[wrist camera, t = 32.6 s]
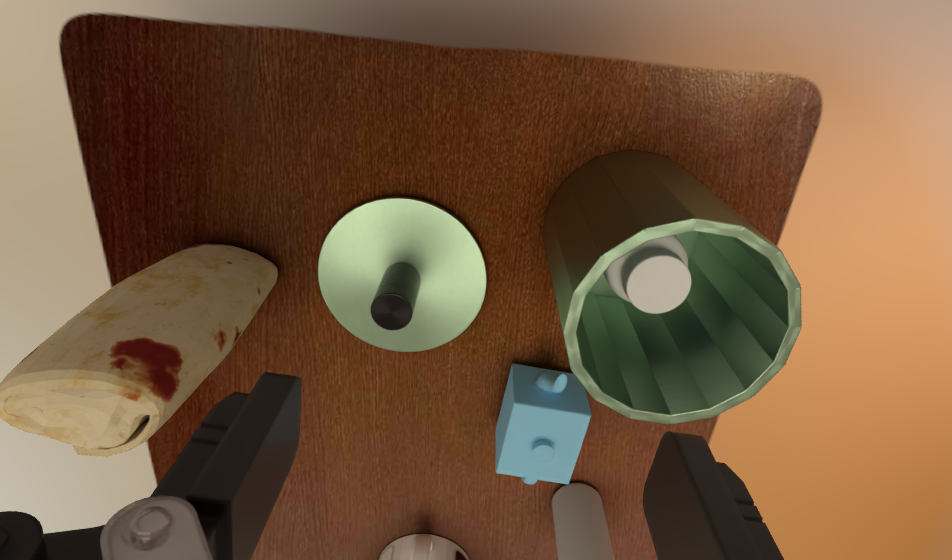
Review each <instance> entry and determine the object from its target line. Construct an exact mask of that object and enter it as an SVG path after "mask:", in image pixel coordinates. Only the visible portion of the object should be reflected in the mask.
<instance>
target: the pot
mask: <svg viewBox="0 0 952 560" xmlns="http://www.w3.org/2000/svg"><path fill="white" fill-rule="evenodd" d="M672 235H676V236H677V238H678V239H679V240H680V241H681V243H682V244H683V246H684V248H685V250H686V252H687V256H688V269H689V272H690V275H691V288H690V291H689V293H688V295H687V297H686V298H685V300H684V301H683V302H682V303H681V304H680V305H679V306H677V307H676V308H674V309H672V310H670V311H668V312H664V313H659V314H652V313H647V312H644V311H641V310H639V309H638V308H636V307H635V306H634V305H633V304H632V303H631V302H628V301H626V300H624V299H622V298H621V297H619V296H618V295H617V294H616V293H615V292H614V291H613V290H612V288H611V287H610V285H609V283H608V281H607V279H606V277H605V275H604V272H605V271H606V269H607V268H608V267H609V265H610V264H611V263H612V262H614V261H616V260H617V259H619V258H621V257H622V256H624V255H625V254H627V253H629V252H630V251H632V250H634V249H635V248H637V247H638V246H640V245H642V244H643V243H645V242H647V241H648V240H653V239H658V238H663V237H668V236H672ZM543 241H544V246H545V250H546V255H547V260H548V265H549V270H550V274H551V279H552V284H553V288H554V293H555V298H556V303H557V307H558V312H559V317H560V322H561V326H562V331H563V336H564V340H565V345H566V350H567V355H568V359H569V364H570V369H571V371H572V372H573V373H574V375H575V376H576V377H577V378H578V380H579V381H580V382H581V384H582V385H583V386H584V387H585V389H586V390H587V391H588V393H589V394H590V395H591V396H592V398H593V399H595V400H596V401H598V402H600V403H601V404H603V405H605V406H607V407H609V408H611V409H612V410H614V411H616V412H618V413H620V414H622V415H623V416H625V417H627V418H630V419H636V420H643V421H650V422H657V423H664V424H676V423H681V422H687V421H693V420H699V419H705V418H711V417H713V416H716V415H718V414H720V413H722V412H724V411H726V410H728V409H730V408H732V407H734V406H736V405H738V404H740V403H742V402H744V401H746V400H748V399H750V398H752V396H755V395H756V393H758V392H759V391H760V390H761V389H762V388H763V387H764V386H765V385H766V384H767V383H768V381H770V380H771V379H772V378H773V377H774V375H776V374H777V373H778V372H779V370H781V369H782V368H783V366H784V365H785V364H786V361H787V359H788V357H789V355H790V352H791V350H792V348H793V346H794V343H795V341H796V339H797V337H798V335H799V332H800V330H801V287H800V283H799V282H798V280H797V278H796V276H795V275H794V273H793V271H792V269H791V268H790V266H789V264H788V262H787V260H786V259H785V257H784V255H783V253H782V251H781V250H780V249H779V248H778V247H777V246H775V245H774V244H773V243H772V242H771V241H769V240H768V239H767V238H766V237H765V236H764V235H762V234H761V233H760V232H759V231H758V230H757V229H755V228H754V227H753V226H752V225H751V224H750V223H748V222H747V221H746V220H745V219H744V218H742V217H741V216H740V215H739V214H738V213H737V212H735V211H734V210H733V209H732V208H731V207H730V206H728V205H727V204H726V203H725V202H724V201H723V200H721V199H720V198H719V197H718V196H717V195H715V194H714V193H713V192H712V191H711V190H710V189H708V188H707V187H706V186H705V185H704V184H703V183H701V182H700V181H699V180H698V179H697V178H696V177H694V176H693V175H692V174H691V173H689V172H688V171H686V170H685V169H683V168H682V167H680V166H679V165H678V164H676V163H675V162H673V161H671V160H670V159H668V158H667V157H664V156H662V155H658V154H654V153H650V152H645V151H621V152H614V153H610V154H607V155H604V156H601V157H598V158H596V159H594V160H591V161H590V162H588V163H586V164H585V165H583V166H581V167H580V168H579V169H577V170H576V171H575V172H573V173H572V174H571V175H570V176H569V177H568V178H567V179H566V180H565V181H564V182H563V184H562V185H561V186H560V187H559V189H558V190H557V192H556V193H555V195H554V197H553V198H552V200H551V203H550V204H549V207H548V210H547V214H546V217H545V223H544V230H543Z"/></svg>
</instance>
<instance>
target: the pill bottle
mask: <svg viewBox="0 0 952 560" xmlns="http://www.w3.org/2000/svg"><path fill="white" fill-rule="evenodd" d="M604 275H605V277H606V279H607V281H608V283H609V285H610V287H611V288H612V290H613V291H614V292H615V293H616V294H617V295H618V296H619V297H621V298H622V299H624V300H626V301H628V302H631V303H632V304H633V305H634V306H635V307H636V308H638V309H639V310H641V311H644V312H647V313H652V314H659V313H664V312H668V311H670V310H672V309H674V308H676V307H677V306H679V305H680V304H681V303H682V302H683V301H684V300H685V298H686V297H687V295H688V293H689V291H690V288H691V275H690V272H689V269H688V256H687V252H686V250H685V248H684V246H683V244H682V243H681V241H680V240H679V239H678V238H677V236H676V235H672V236H668V237H663V238H658V239H653V240H648V241H647V242H645V243H643V244H642V245H640V246H638V247H637V248H635V249H634V250H632V251H630V252H629V253H627V254H625V255H624V256H622V257H621V258H619V259H617V260H616V261H614V262H612V263H611V264H610V265H609V267H608V268H607V269H606V271H605V272H604Z"/></svg>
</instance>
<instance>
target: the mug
mask: <svg viewBox="0 0 952 560" xmlns="http://www.w3.org/2000/svg"><path fill="white" fill-rule="evenodd" d="M379 560H469V558H468V556H467V554H466V553H465V552H464V550H463V549H461V548H460V547H459V546H458V545H457V544H455V543H454V542H452V541H450V540H448V539H446V538H443V537H440V536H436V535H430V534H414V535H408V536H404V537H401V538H399V539H397V540H395V541H393V542H392V543H390V544H389V545H388V546H387V547H386V548H385V549H384V550H383V552H382V553H381V555H380V557H379Z"/></svg>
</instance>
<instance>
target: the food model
mask: <svg viewBox="0 0 952 560" xmlns="http://www.w3.org/2000/svg"><path fill="white" fill-rule="evenodd" d="M277 276H278V272H277V267H276V266H275V265H274V264H273V263H272V262H270V261H268V260H267V259H265V258H263V257H261V256H260V255H258V254H256V253H253V252H250V251H247V250H244V249H241V248H238V247H234V246H231V245H224V244H214V243H203V244H194V245H192V246H190V247H187V248H185V249H184V250H182V251H179V252H177V253H175V254H173V255H171V256H169V257H167V258H165V259H163V260H161V261H159V262H157V263H155V264H153V265H151V266H150V267H148V268H146V269H144V270H142V271H140V272H138V273H136V274H134V275H132V276H130V277H128V278H127V279H125V280H123V281H122V282H120V283H118V284H117V285H115V286H114V287H112V288H111V289H110V290H108V291H107V292H106V293H105V294H103V295H102V296H100V297H99V298H98V299H96V300H95V301H94V302H92V303H91V304H90V305H89V306H87V307H86V308H85V309H83V310H82V311H81V312H80V313H78V314H77V315H76V316H74V317H73V318H72V319H71V320H69V321H68V322H67V323H66V324H65V325H63V326H62V327H61V328H60V329H59V330H57V331H56V332H55V333H54V334H53V335H51V336H50V337H49V338H48V339H47V340H46V341H44V342H43V343H42V344H41V345H40V346H38V347H37V348H36V349H35V350H34V351H33V352H31V353H30V354H29V355H28V356H27V357H26V358H24V359H23V360H22V361H21V362H20V363H19V364H18V365H17V366H16V367H15V368H14V369H13V370H12V371H11V372H10V373H9V374H8V375H7V376H6V377H5V378H4V380H3V381H2V382H1V384H0V417H1V418H2V419H3V420H4V421H6V422H7V423H8V424H10V425H11V426H14V427H16V428H18V429H21V430H23V431H26V432H30V433H34V434H38V435H43V436H47V437H50V438H53V439H56V440H59V441H62V442H65V443H68V444H72V445H73V447H74V449H75V450H76V452H77V454H78V455H89V456H101V457H108V456H111V455H115V454H118V453H122V452H125V451H128V450H130V449H132V448H134V447H136V446H138V445H140V444H141V443H144V442H145V441H147V440H148V439H149V438H150V437H151V436H152V435H153V434H154V433H155V432H156V431H157V430H158V429H159V428H160V427H161V426H162V425H163V424H164V423H165V422H166V421H167V420H168V419H169V418H170V417H171V416H172V415H173V414H174V413H175V411H176V410H177V409H178V408H179V407H180V406H181V405H182V404H183V403H184V401H185V400H186V399H187V398H188V397H189V396H190V395H191V394H192V392H193V391H194V390H195V389H196V388H197V387H198V386H199V385H200V384H201V382H202V381H203V380H204V379H205V378H206V377H207V376H208V375H209V374H210V373H211V372H212V371H213V370H214V369H215V368H216V367H217V366H218V365H219V364H220V363H221V361H222V360H223V359H224V358H225V357H226V356H227V354H228V353H229V352H230V351H231V349H232V347H233V346H234V344H235V343H236V341H237V340H238V338H239V337H240V335H241V334H242V333H243V331H244V330H245V328H246V327H247V326H248V324H249V323H250V321H251V320H252V319H253V317H254V315H255V314H256V312H257V311H258V309H259V307H260V306H261V304H262V303H263V301H264V300H265V298H266V297H267V295H268V294H269V292H270V291H271V289H272V288H273V286H274V285H275V283H276V281H277Z"/></svg>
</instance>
